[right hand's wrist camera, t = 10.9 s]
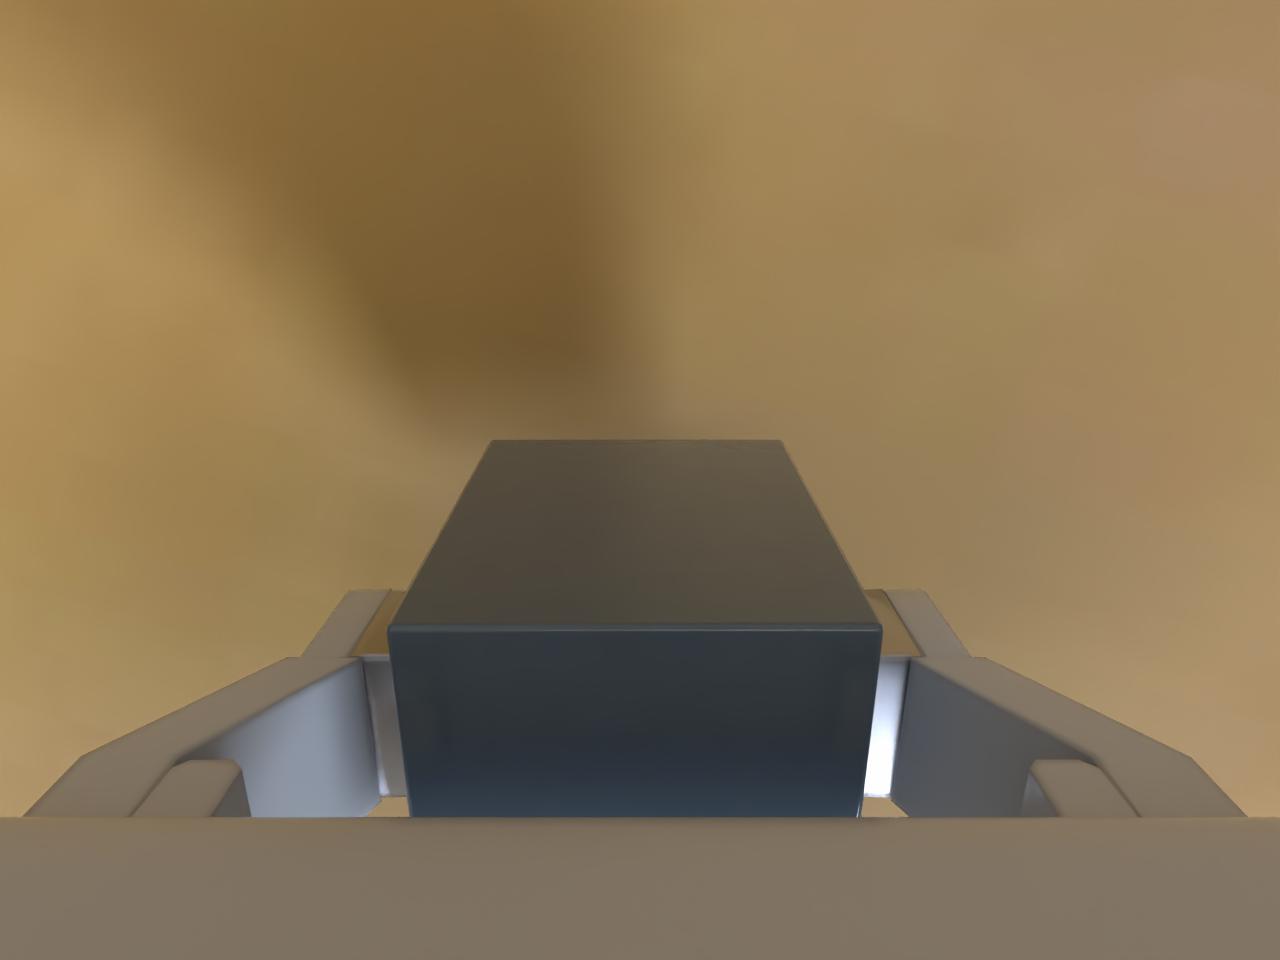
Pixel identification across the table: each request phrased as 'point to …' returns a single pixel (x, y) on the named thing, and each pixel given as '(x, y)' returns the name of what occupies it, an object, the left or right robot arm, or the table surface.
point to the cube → (635, 640)
